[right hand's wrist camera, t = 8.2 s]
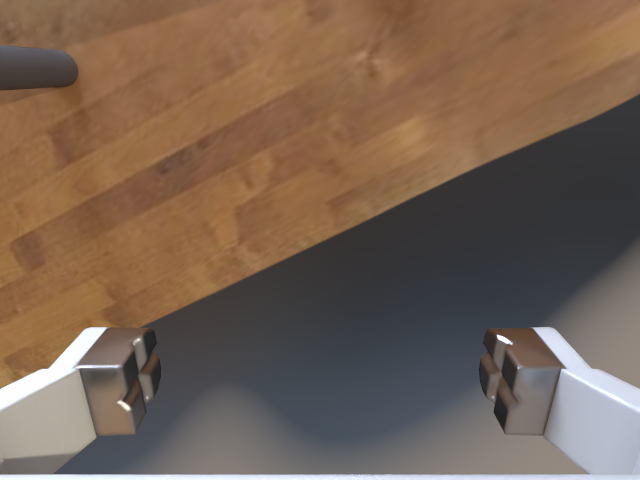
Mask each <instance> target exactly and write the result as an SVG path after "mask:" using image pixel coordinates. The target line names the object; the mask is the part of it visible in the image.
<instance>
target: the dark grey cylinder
mask: <svg viewBox="0 0 640 480" xmlns="http://www.w3.org/2000/svg"><path fill="white" fill-rule="evenodd" d="M76 78H77V66H76V64H75V62H74V60H73V59H72V57H71V56H70V55H68V54H67V53H65V52H63V51H61V50H52V49H40V48H27V47H14V46H2V45H0V90H16V89H32V88H48V87H64V86H69V85H71V84H73V83H74V81H75V80H76Z"/></svg>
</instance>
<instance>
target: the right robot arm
mask: <svg viewBox="0 0 640 480" xmlns="http://www.w3.org/2000/svg"><path fill="white" fill-rule="evenodd" d="M156 344H157V342H156V338H155V333H154V331H153V330H152V329H151V328H115V327H111V328H109V327H90V328H87V329H85V330H84V331H83V332H82V333H81V334H80V335H79V336H78V337H77V338H76V339H75V341H74V342H73V343H72V344H71V345H70V346H69V347H68V348H67V349H66V350H65V351H64V352H63V354H62V355H61V356H60V357H59V358H58V359H57V360H56V361H55V362H54V363H53V364H52V366H51V367H50V368H49V369H41V370H39V371H36V372H34V373H32V374H30V375H28V376H26V377H24V378H22V379H20V380H18V381H16V382H14V383H12V384H10V385H7V386H5V387H3V388H1V389H0V480H640V389H639V388H637V387H634V386H632V385H630V384H628V383H626V382H624V381H622V380H620V379H618V378H616V377H614V376H612V375H610V374H608V373H606V372H604V371H601V370H599V369H591V368H590V367H589V366H588V364H587V363H586V362H585V361H584V360H583V359H582V358H581V357H580V356H579V355H578V354H577V352H576V351H575V350H574V349H573V348H572V347H571V346H570V345H569V344H568V343H567V342H566V340H565V339H564V338H563V337H562V336H561V335H560V334H559V333H558V332H557V331H556V330H555V329H553V328H551V327H537V328H507V329H487V331H486V333H485V337H484V342H483V344H484V345H485V347H486V349H487V350H488V352H487V353H486V354H485V355H484V356H483V357H482V358H481V360H480V367H479V375H480V383H481V386H482V390H483V392H484V394H485V396H486V398H487V399H489V400H490V401H492V402H493V403H495V407H494V414H495V416H496V418H497V420H498V422H499V423H500V425H501V427H502V429H503V431H504V433H505V435H540V436H544V438H545V439H546V440H547V441H548V442H550V443H551V444H552V445H553V446H554V447H556V448H557V449H558V450H559V451H561V452H562V453H563V454H564V455H565V456H567V457H568V458H569V459H570V460H571V461H573V462H574V463H575V464H576V465H577V466H579V467H580V468H581V469H582V470H584V471H585V472H586V473H587V474H588V475H52V474H53V473H54V472H55V471H57V470H58V469H59V468H60V467H61V466H63V465H64V464H65V463H66V462H68V461H69V460H70V459H71V458H72V457H74V456H75V455H76V454H77V453H78V452H80V451H81V450H82V449H83V448H85V447H86V446H87V445H88V444H89V443H91V442H92V441H93V440H94V439H95V438H96V436H101V435H134V434H135V433H136V431H137V429H138V427H139V425H140V424H141V422H142V420H143V418H144V416H145V414H146V407H145V403H147V402H148V401H150V400H151V399H153V398H154V396H155V394H156V392H157V390H158V386H159V382H160V377H161V366H160V360H159V358H158V357H157V356H156V355H155V354H154V353H153V352H152V350H153V349H154V347H155V345H156Z"/></svg>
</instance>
